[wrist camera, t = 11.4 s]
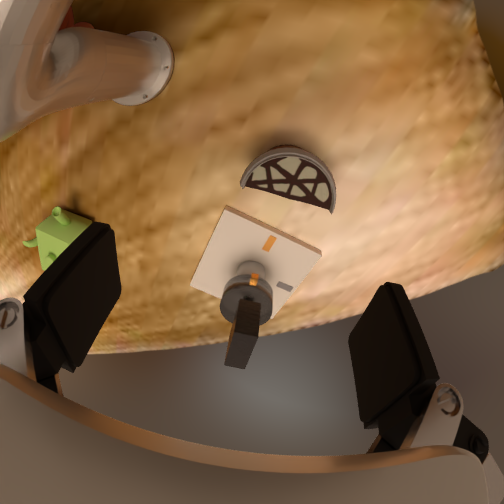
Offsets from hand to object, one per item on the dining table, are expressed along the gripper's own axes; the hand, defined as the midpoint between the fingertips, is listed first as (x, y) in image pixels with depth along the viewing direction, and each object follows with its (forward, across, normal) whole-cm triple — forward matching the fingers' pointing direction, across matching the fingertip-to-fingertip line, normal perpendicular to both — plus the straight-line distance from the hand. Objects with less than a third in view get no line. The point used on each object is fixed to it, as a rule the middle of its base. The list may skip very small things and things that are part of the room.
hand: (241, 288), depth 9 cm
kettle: (+34, +36, +25) cm, 55 cm away
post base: (+33, -2, +24) cm, 41 cm away
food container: (+34, -4, +3) cm, 34 cm away
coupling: (+26, -2, +23) cm, 35 cm away
